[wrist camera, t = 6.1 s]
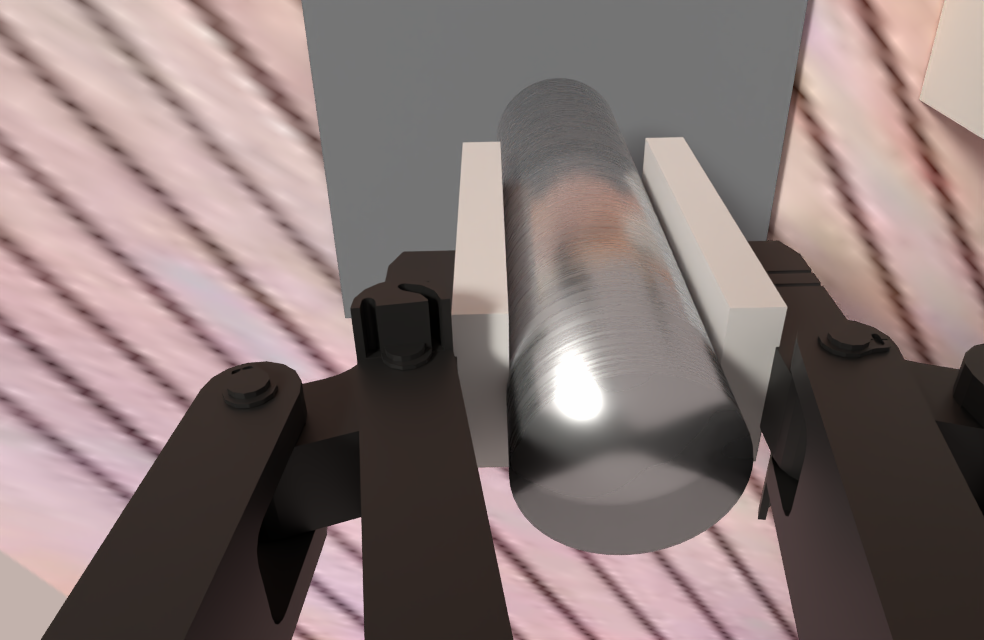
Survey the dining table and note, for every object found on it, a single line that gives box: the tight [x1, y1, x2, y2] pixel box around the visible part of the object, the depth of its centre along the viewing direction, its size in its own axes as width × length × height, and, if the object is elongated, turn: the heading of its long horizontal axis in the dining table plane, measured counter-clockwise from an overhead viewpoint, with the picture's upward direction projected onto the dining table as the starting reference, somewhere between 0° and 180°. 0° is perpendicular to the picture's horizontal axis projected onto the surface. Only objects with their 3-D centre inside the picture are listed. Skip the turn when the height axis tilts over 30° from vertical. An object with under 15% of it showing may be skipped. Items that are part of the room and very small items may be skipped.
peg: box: [497, 78, 754, 555], centre depth 15 cm, size 3×3×12 cm
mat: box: [301, 0, 808, 318], centre depth 24 cm, size 14×14×1 cm
